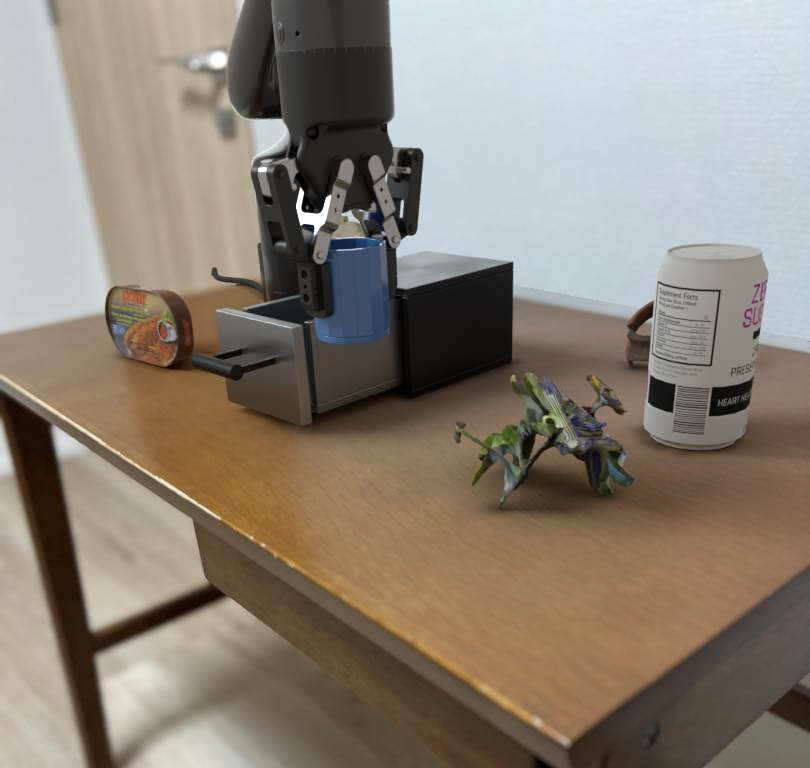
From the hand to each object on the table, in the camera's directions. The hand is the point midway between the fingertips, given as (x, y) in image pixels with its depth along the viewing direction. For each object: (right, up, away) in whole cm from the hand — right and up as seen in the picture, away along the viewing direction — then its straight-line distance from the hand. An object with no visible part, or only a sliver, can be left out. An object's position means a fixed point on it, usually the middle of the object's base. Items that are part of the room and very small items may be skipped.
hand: (351, 306), depth 64 cm
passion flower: (+14, -14, 0) cm, 20 cm away
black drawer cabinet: (+6, +1, +30) cm, 31 cm away
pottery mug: (+32, +1, +28) cm, 43 cm away
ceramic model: (-5, +23, +73) cm, 76 cm away
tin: (-25, +4, +39) cm, 46 cm away
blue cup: (0, -2, +1) cm, 2 cm away
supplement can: (+28, -8, +10) cm, 31 cm away
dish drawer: (-6, -4, +20) cm, 21 cm away
